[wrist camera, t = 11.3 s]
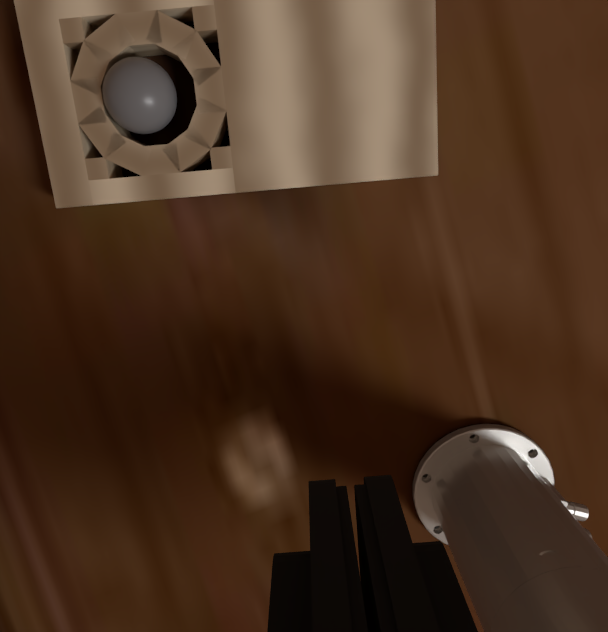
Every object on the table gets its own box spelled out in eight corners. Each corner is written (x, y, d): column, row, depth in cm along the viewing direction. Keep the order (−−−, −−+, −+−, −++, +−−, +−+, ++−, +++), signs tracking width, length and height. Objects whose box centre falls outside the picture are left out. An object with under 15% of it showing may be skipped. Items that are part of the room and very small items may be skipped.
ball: (88, 64, 32) (87, 80, 36) (129, 141, 34) (122, 148, 38) (160, 36, 33) (150, 55, 37) (195, 112, 35) (182, 122, 39)
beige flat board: (423, -28, 36) (434, -47, 33) (428, 176, 39) (438, 175, 36) (35, 8, 36) (12, -7, 33) (74, 206, 40) (56, 208, 37)
